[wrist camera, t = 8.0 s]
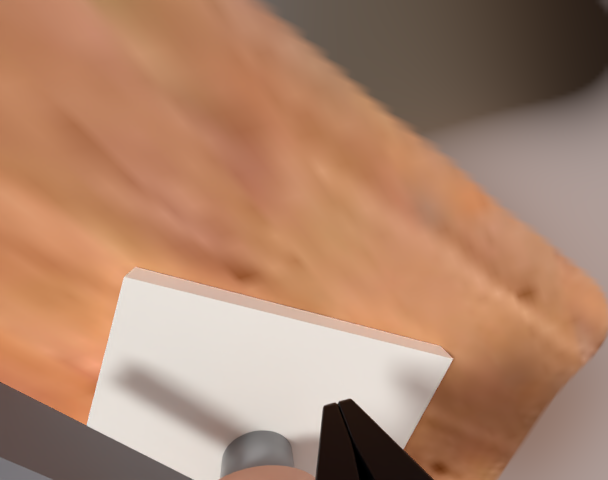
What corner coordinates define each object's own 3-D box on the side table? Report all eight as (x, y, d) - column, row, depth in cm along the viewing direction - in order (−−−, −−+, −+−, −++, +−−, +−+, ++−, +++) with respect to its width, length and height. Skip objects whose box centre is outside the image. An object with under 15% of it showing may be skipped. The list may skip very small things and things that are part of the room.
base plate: (333, 545, 21) (351, 628, 18) (65, 534, 17) (11, 642, 13) (440, 346, 18) (491, 396, 14) (135, 266, 13) (87, 309, 10)
